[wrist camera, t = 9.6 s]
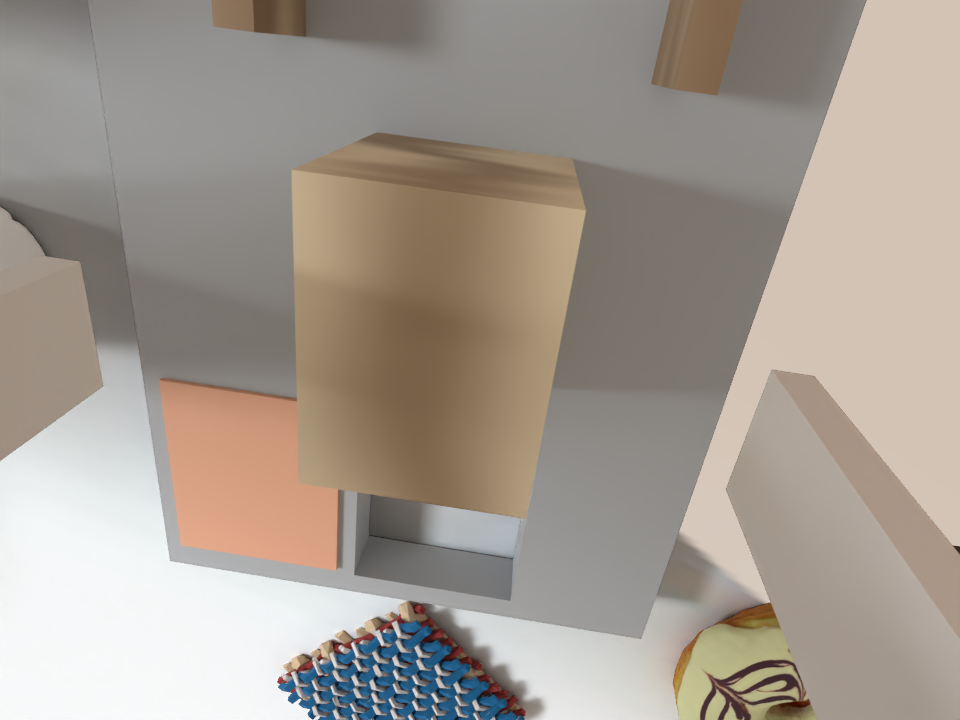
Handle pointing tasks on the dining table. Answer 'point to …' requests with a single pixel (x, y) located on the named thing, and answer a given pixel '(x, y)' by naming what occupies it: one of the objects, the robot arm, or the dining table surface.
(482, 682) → the woven mat
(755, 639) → the decorated donut
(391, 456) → the block
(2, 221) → the water bottle
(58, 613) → the dining table surface
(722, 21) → the walls
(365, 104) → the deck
